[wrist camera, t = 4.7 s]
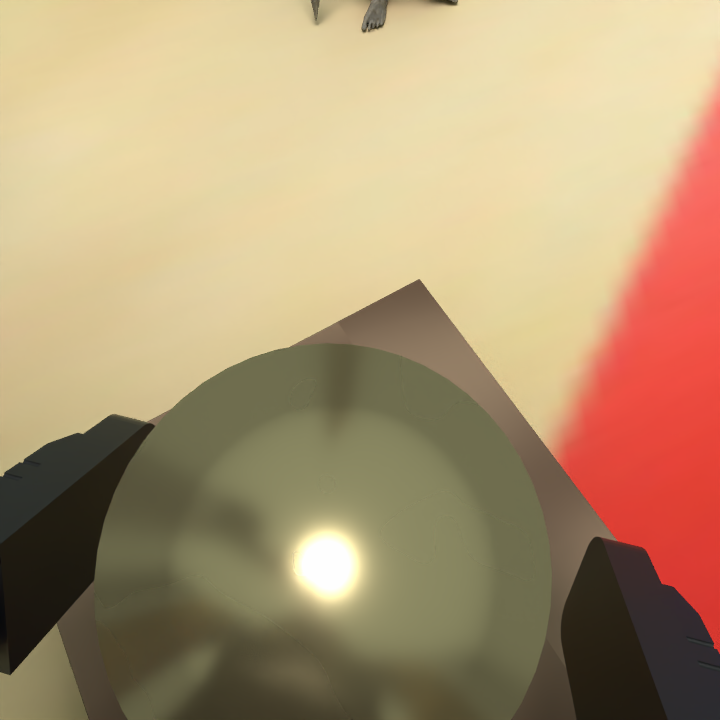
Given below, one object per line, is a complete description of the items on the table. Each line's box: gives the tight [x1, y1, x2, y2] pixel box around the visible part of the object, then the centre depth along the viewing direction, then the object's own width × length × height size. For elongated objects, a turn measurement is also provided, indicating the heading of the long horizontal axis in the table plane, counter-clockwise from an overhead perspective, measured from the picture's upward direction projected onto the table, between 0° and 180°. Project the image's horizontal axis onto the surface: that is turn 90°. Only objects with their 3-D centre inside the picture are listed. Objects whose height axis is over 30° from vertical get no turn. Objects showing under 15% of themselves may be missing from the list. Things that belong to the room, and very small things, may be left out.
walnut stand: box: [57, 279, 617, 720], centre depth 14 cm, size 12×12×2 cm
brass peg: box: [94, 343, 552, 720], centre depth 10 cm, size 4×4×10 cm
